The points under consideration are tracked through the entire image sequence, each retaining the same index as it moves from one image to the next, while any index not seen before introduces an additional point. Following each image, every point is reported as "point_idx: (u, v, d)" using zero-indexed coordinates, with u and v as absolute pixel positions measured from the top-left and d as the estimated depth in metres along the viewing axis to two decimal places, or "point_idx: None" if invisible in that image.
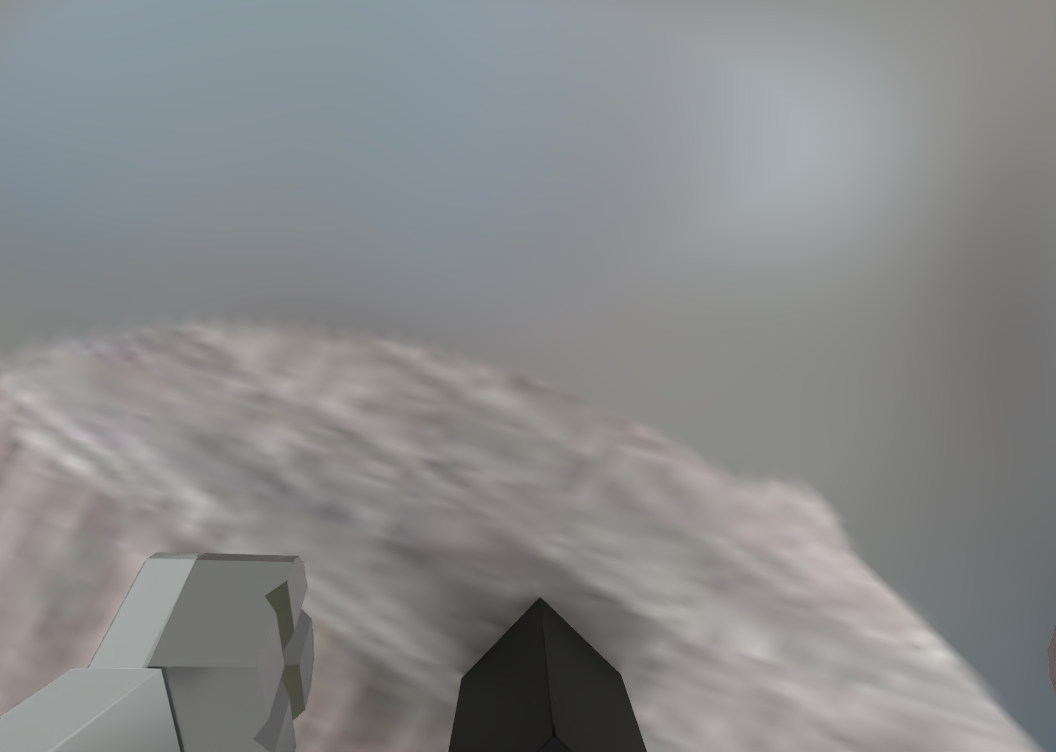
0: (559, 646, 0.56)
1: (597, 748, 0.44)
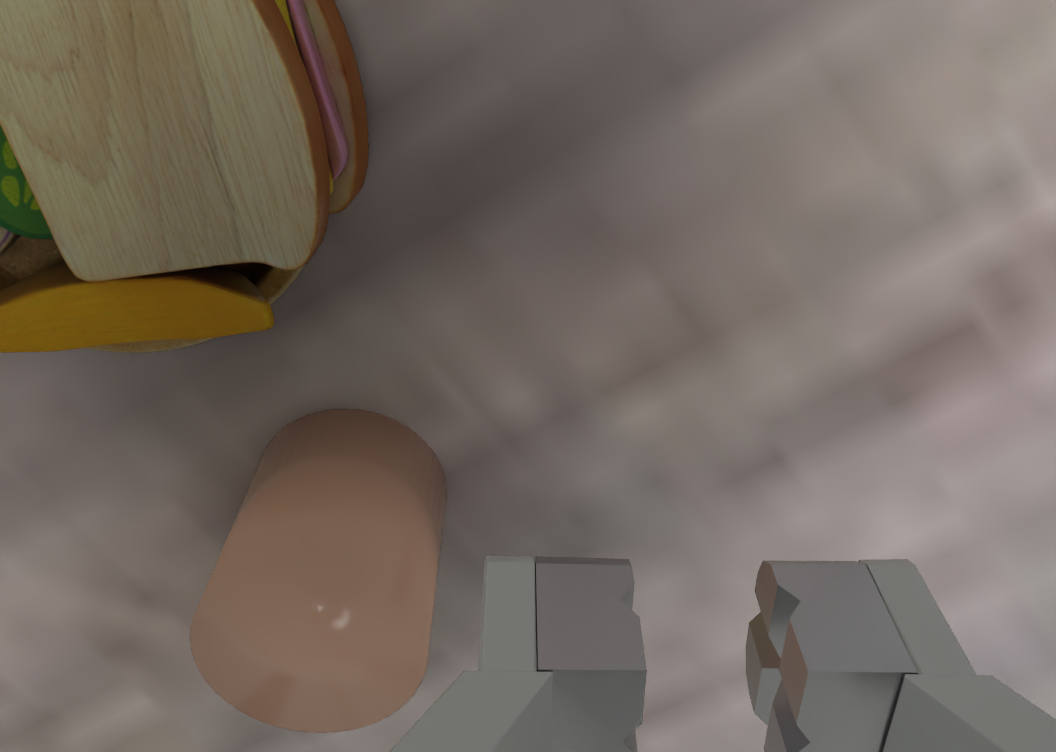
0: None
1: None
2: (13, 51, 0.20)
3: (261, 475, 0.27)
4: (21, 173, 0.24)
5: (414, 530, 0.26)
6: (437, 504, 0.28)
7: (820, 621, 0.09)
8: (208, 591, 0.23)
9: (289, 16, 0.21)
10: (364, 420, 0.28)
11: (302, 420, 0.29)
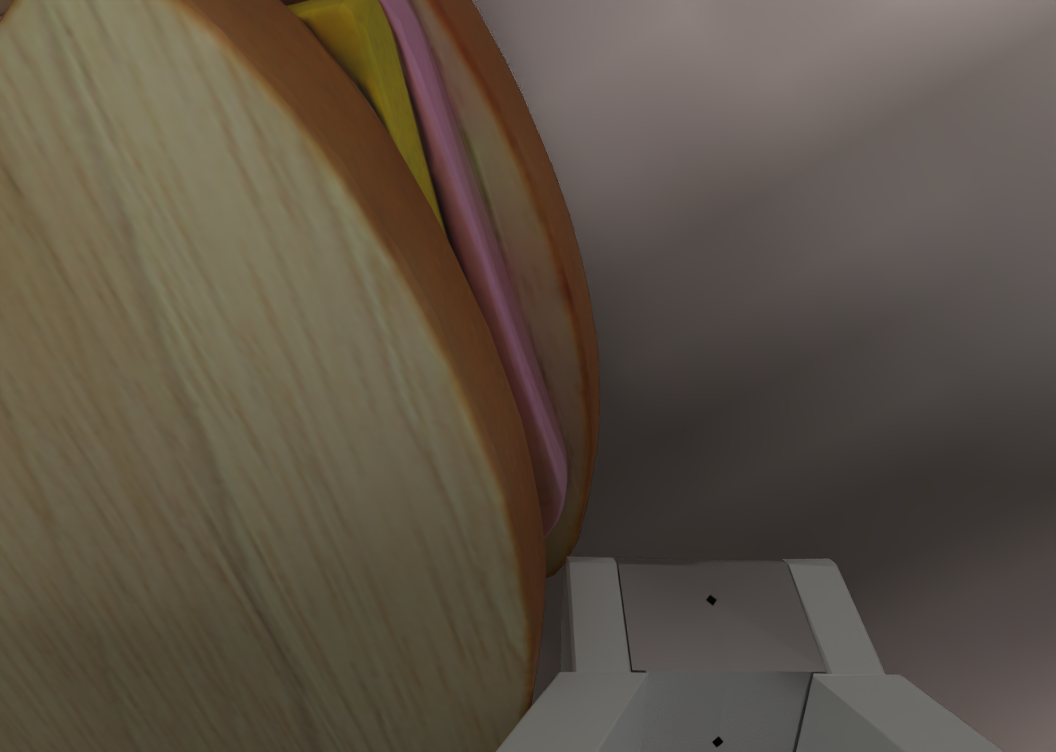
0: None
1: None
2: None
3: None
4: None
5: None
6: None
7: (734, 620, 0.09)
8: None
9: (430, 177, 0.07)
10: None
11: None
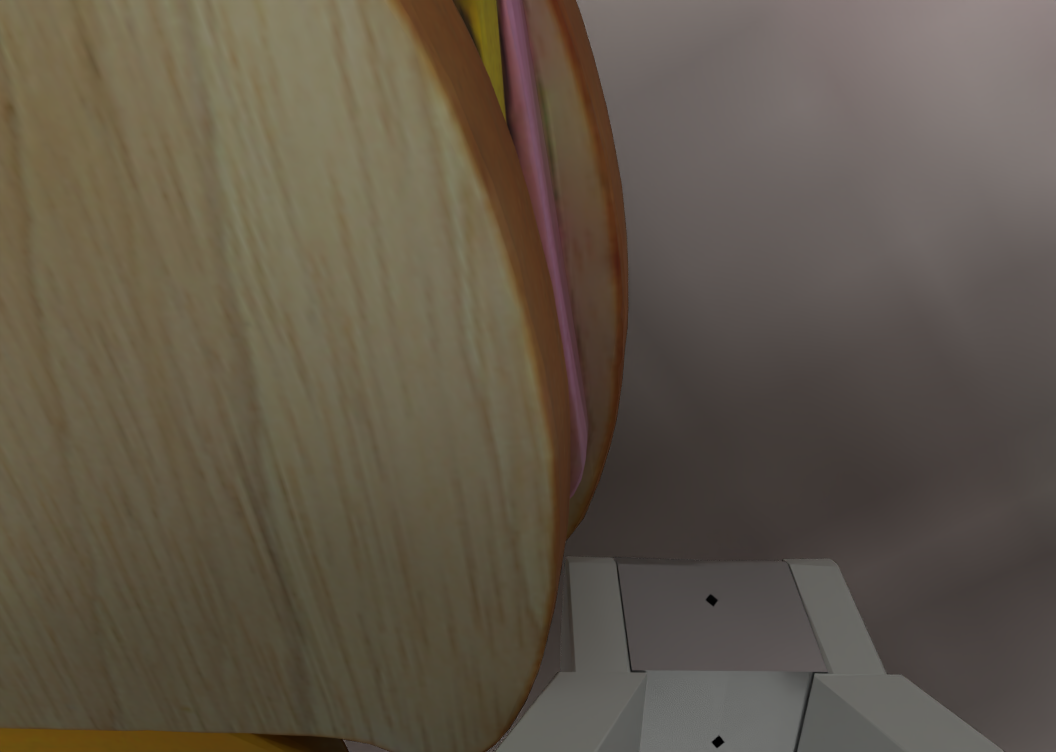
0: None
1: None
2: None
3: None
4: None
5: None
6: None
7: (735, 620, 0.09)
8: None
9: (506, 123, 0.07)
10: None
11: None
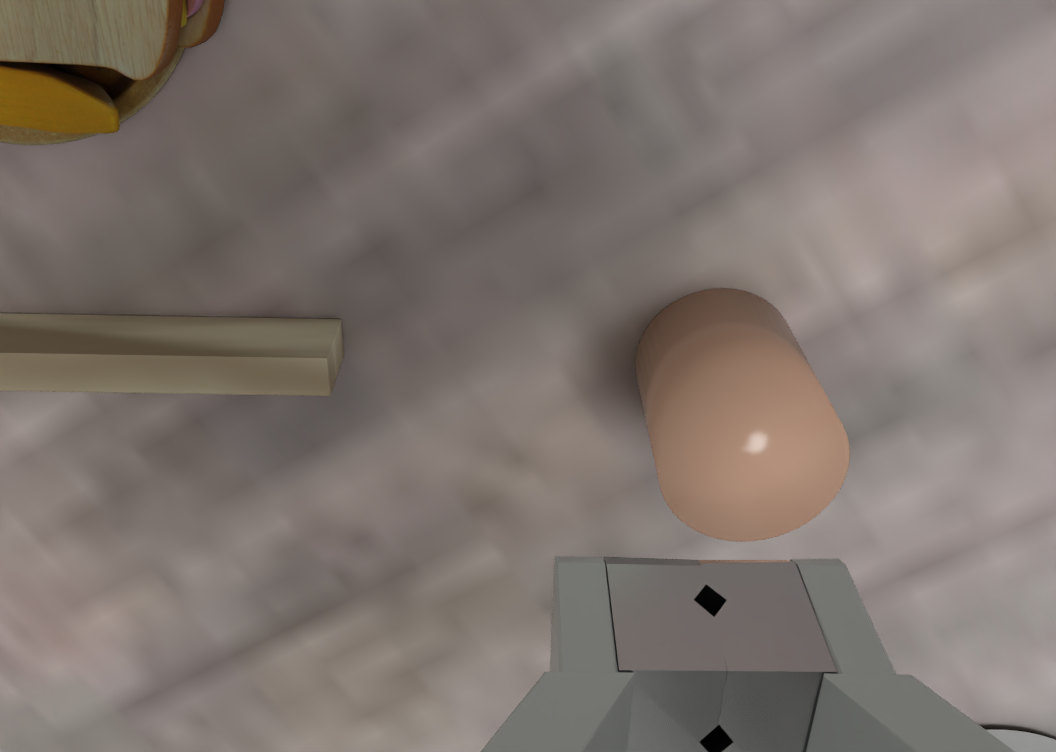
0: None
1: None
2: None
3: (674, 337, 0.33)
4: None
5: (816, 377, 0.32)
6: None
7: (744, 621, 0.09)
8: (686, 414, 0.29)
9: None
10: (744, 296, 0.34)
11: (689, 297, 0.35)
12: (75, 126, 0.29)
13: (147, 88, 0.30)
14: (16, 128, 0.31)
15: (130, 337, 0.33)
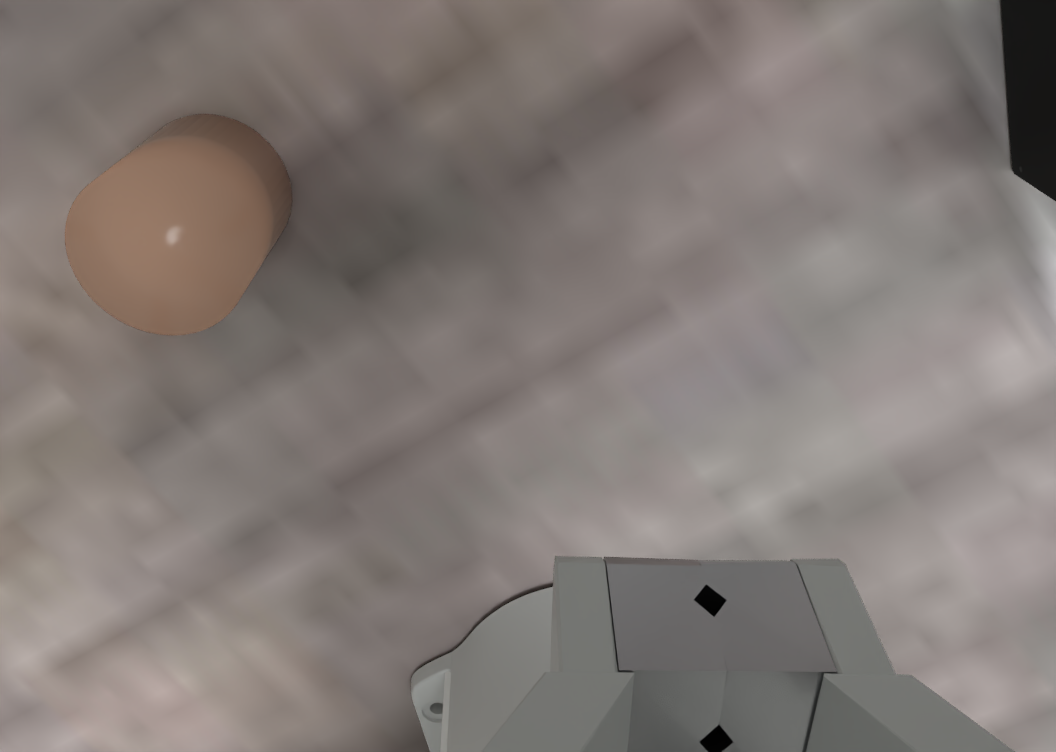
0: None
1: None
2: None
3: None
4: None
5: (245, 181, 0.33)
6: (275, 184, 0.36)
7: (744, 620, 0.09)
8: (76, 198, 0.31)
9: None
10: (218, 119, 0.36)
11: (170, 122, 0.36)
12: None
13: None
14: None
15: None
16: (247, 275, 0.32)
